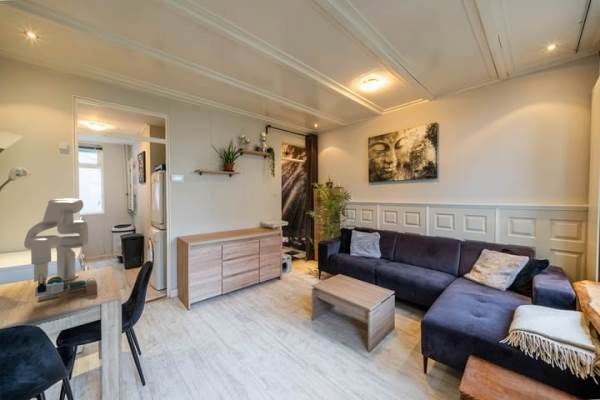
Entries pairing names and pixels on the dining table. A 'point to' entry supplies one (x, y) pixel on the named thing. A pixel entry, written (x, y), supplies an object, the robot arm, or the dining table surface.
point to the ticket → (51, 289)
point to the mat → (48, 297)
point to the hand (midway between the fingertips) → (42, 291)
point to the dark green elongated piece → (72, 284)
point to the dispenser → (83, 289)
